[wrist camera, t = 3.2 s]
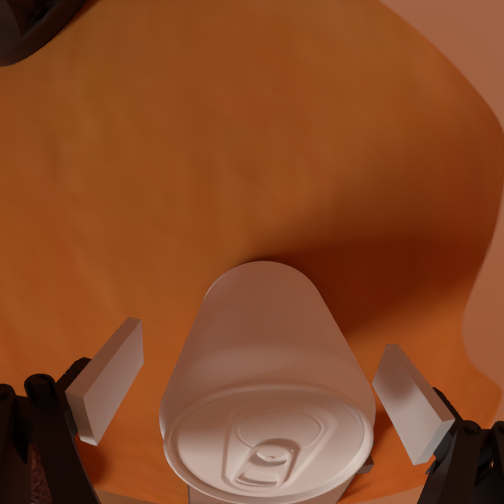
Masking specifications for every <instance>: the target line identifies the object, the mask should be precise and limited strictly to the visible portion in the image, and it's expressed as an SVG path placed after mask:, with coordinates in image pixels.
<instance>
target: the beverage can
mask: <svg viewBox="0 0 504 504" xmlns="http://www.w3.org/2000/svg"><path fill="white" fill-rule="evenodd" d="M375 414H376V408H375V399H374V395H373V392H372V389H371V387H370V385H369V383H368V381H367V379H366V377H365V375H364V373H363V371H362V369H361V367H360V366H359V364H358V362H357V360H356V358H355V356H354V354H353V353H352V351H351V349H350V347H349V345H348V343H347V342H346V340H345V338H344V336H343V334H342V332H341V331H340V329H339V327H338V325H337V323H336V322H335V320H334V318H333V316H332V315H331V313H330V311H329V309H328V307H327V306H326V304H325V302H324V300H323V299H322V297H321V295H320V293H319V292H318V290H317V288H316V287H315V285H314V284H313V283H312V282H311V281H310V280H309V279H308V278H307V277H306V276H305V275H304V274H302V273H301V272H300V271H298V270H296V269H294V268H292V267H290V266H288V265H285V264H282V263H278V262H271V261H256V262H249V263H245V264H242V265H239V266H237V267H234V268H232V269H230V270H229V271H227V272H226V273H224V274H223V275H221V276H220V277H219V278H218V279H217V280H216V281H215V282H214V283H213V284H212V286H211V287H210V288H209V290H208V292H207V293H206V295H205V298H204V300H203V302H202V304H201V307H200V309H199V311H198V314H197V316H196V318H195V321H194V323H193V325H192V328H191V330H190V332H189V335H188V337H187V339H186V342H185V344H184V346H183V349H182V351H181V354H180V356H179V358H178V361H177V363H176V366H175V368H174V370H173V373H172V375H171V378H170V380H169V383H168V385H167V387H166V390H165V392H164V395H163V398H162V401H161V405H160V412H159V422H160V429H161V433H162V436H163V439H164V452H165V456H166V458H167V461H168V463H169V464H170V466H171V468H172V469H173V470H174V471H175V473H176V474H177V475H178V476H179V477H180V478H181V479H182V480H184V481H185V482H186V483H187V484H189V485H190V486H192V487H193V488H195V489H197V490H199V491H200V492H202V493H204V494H207V495H209V496H212V497H214V498H217V499H220V500H224V501H228V502H232V503H237V504H290V503H295V502H300V501H304V500H307V499H310V498H313V497H316V496H319V495H321V494H324V493H326V492H328V491H330V490H332V489H334V488H336V487H337V486H339V485H341V484H342V483H344V482H345V481H346V480H348V479H349V478H350V477H351V476H353V475H354V474H355V473H356V472H357V471H358V470H359V469H360V468H361V466H362V465H363V464H364V462H365V461H366V459H367V458H368V456H369V454H370V452H371V449H372V446H373V440H374V432H373V426H374V422H375Z"/></svg>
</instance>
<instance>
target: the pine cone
mask: <svg viewBox="0 0 504 504" xmlns="http://www.w3.org/2000/svg"><path fill="white" fill-rule="evenodd" d="M31 503H33V504H54V502H53V499H52V496H51V493H50V490H49V487H48V484H47V481H46V477H45V474H44V470H43V466H42V463H41V459H40V455H39V450H38V446H37V444H33V452H32V471H31Z"/></svg>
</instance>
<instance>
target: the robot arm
mask: <svg viewBox="0 0 504 504" xmlns="http://www.w3.org/2000/svg"><path fill="white" fill-rule="evenodd" d="M85 1H86V0H0V66H8V65H11V64H14V63H16V62H18V61H20V60H22V59H24V58H26V57H27V56H29V55H30V54H32V53H33V52H35V51H36V50H37V49H39V48H40V47H41V46H42V45H44V44H45V43H46V42H47V41H48V40H49V39H50V38H52V37H53V36H54V35H55V34H56V33H57V32H58V31H59V30H60V29H61V28H62V27H63V26H64V25H65V24H66V23H67V22H68V21H69V20H70V19H71V18H72V16H73V15H74V14H75V13H76V12H77V11H78V9H79V8H80V7H81V6H82V5H83V3H84V2H85ZM143 363H144V360H143V342H142V320H140V319H135V318H130V317H128V318H127V319H126V321H125V322H124V323H123V324H122V325H121V326H120V327H119V328H118V330H117V331H116V332H115V333H114V334H113V335H112V336H111V338H110V339H109V340H108V341H107V342H106V343H105V344H104V346H103V347H102V348H101V349H100V350H99V351H98V353H97V354H96V355H95V356H94V357H93V358H92V359H89V358H85V357H83V358H81V359H79V360H77V361H75V362H74V363H73V364H72V365H71V367H70V368H69V369H68V370H67V371H66V372H65V374H63V375H62V377H61V378H60V379H59V380H58V381H57V382H56V383H55V381H54V379H53V378H52V377H51V376H50V375H47V374H34V375H31V376H30V377H28V378H27V379H26V380H25V382H24V388H25V390H26V393H27V396H28V397H24V396H18V395H16V393H15V391H14V389H13V387H11V386H10V385H8V384H0V504H31V471H32V452H33V444H37V446H38V450H39V455H40V459H41V463H42V466H43V470H44V474H45V477H46V481H47V484H48V487H49V490H50V493H51V496H52V499H53V502H54V504H101V502H100V500H99V498H98V496H97V494H96V492H95V490H94V487H93V485H92V483H91V481H90V478H89V476H88V474H87V471H86V469H85V467H84V464H83V462H82V459H81V456H80V454H79V451H78V448H77V446H76V443H75V440H74V437H75V435H76V433H77V432H78V434H79V437H80V439H81V441H84V442H87V443H89V444H92V445H95V446H97V445H98V444H99V442H100V440H101V438H102V436H103V434H104V432H105V431H106V429H107V427H108V425H109V423H110V421H111V420H112V418H113V416H114V414H115V412H116V411H117V409H118V407H119V405H120V404H121V402H122V400H123V398H124V396H125V395H126V393H127V391H128V389H129V388H130V386H131V384H132V382H133V381H134V379H135V377H136V375H137V374H138V372H139V370H140V369H141V367H142V365H143ZM372 385H373V387H374V389H375V391H376V393H377V394H378V396H379V398H380V400H381V402H382V404H383V406H384V408H385V410H386V412H387V413H388V415H389V417H390V419H391V421H392V423H393V425H394V427H395V429H396V431H397V433H398V435H399V437H400V439H401V441H402V443H403V445H404V447H405V449H406V451H407V453H408V455H409V457H410V459H411V461H412V463H413V465H417V464H421V463H426V462H427V461H428V460H429V459H430V457H431V456H432V454H434V455H435V457H436V459H435V461H434V462H433V463H432V465H431V466H430V467H429V469H428V470H427V471H426V473H425V474H428V472H429V471H430V472H429V475H428V478H427V480H426V483H425V485H424V488H423V490H422V493H421V495H420V498H419V500H418V502H417V504H504V421H497V422H495V424H494V425H493V427H492V428H491V429H481V427H480V426H479V425H478V424H477V423H475V422H473V421H470V420H463V419H462V418H461V416H460V415H459V414H458V412H457V411H456V410H455V408H454V407H453V406H452V405H451V403H450V402H449V401H448V400H447V398H446V397H445V396H444V394H443V393H442V392H441V391H439V390H438V389H436V388H435V387H431V386H430V384H429V383H428V382H427V381H426V379H425V378H424V377H423V375H422V374H421V373H420V372H419V370H418V369H417V368H416V367H415V365H414V364H413V363H412V362H411V360H410V359H409V358H408V357H407V355H406V354H405V353H404V352H403V350H402V349H401V348H400V347H399V345H398V344H386V346H385V349H384V352H383V355H382V358H381V361H380V364H379V367H378V369H377V372H376V375H375V377H374V380H373V383H372ZM492 463H493V467H492V465H491V464H492Z"/></svg>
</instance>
